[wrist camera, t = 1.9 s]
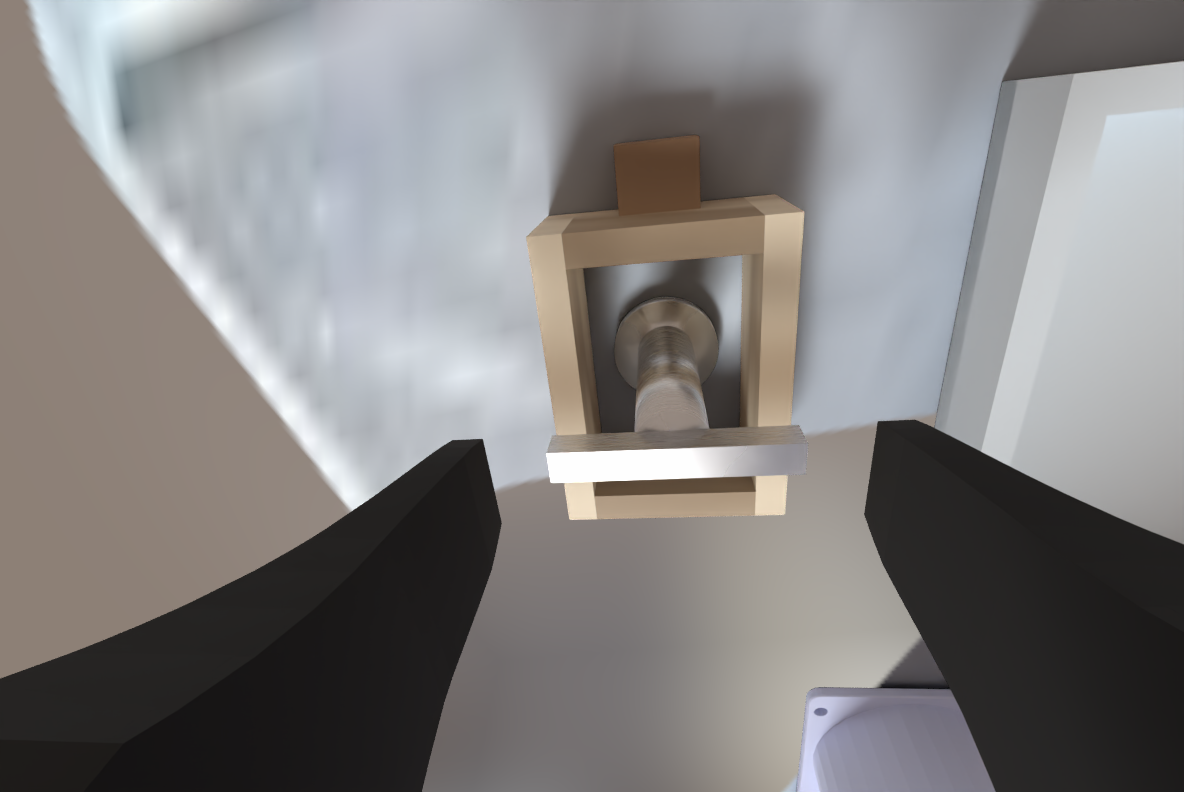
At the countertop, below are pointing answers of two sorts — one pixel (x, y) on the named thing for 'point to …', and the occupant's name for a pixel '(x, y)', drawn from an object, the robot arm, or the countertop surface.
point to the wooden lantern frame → (656, 234)
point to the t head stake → (673, 411)
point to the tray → (1080, 293)
